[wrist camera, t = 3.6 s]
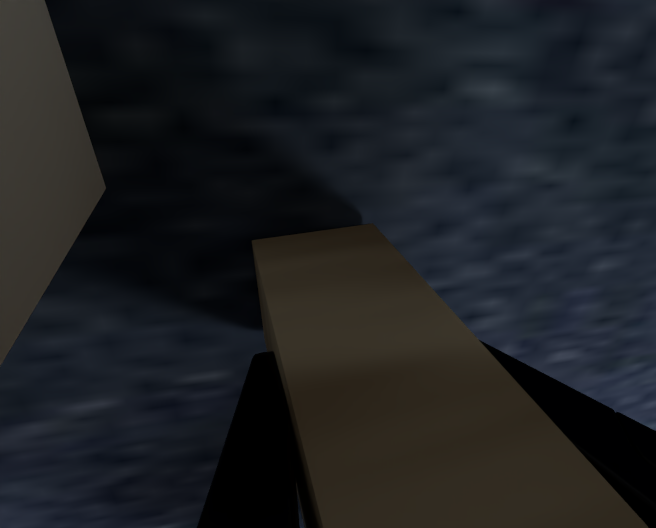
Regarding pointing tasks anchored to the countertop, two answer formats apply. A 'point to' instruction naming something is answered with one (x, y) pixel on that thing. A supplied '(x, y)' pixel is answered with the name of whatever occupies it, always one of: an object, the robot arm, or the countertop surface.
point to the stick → (408, 401)
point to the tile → (38, 163)
